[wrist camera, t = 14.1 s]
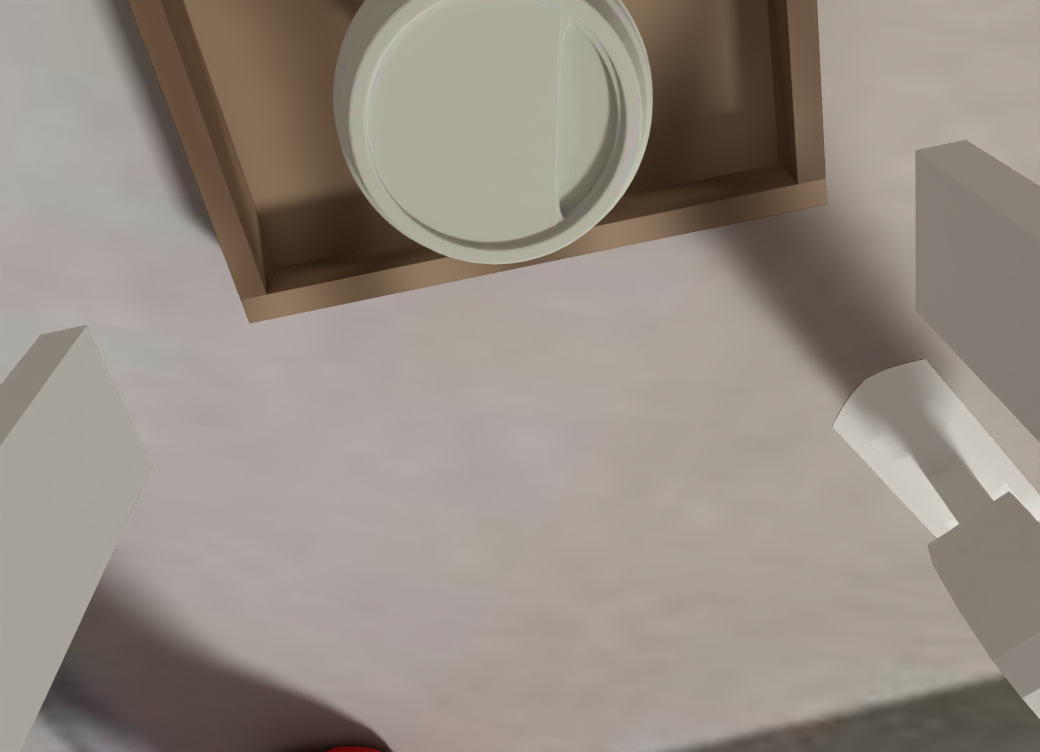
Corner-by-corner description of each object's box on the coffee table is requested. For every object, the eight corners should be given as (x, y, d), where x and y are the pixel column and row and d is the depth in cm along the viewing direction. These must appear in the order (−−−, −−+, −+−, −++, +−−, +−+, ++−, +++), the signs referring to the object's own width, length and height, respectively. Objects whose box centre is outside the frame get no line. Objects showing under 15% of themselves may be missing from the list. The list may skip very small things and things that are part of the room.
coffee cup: (520, 194, 39) (544, 336, 28) (321, 74, 36) (265, 181, 25) (651, -3, 35) (734, 73, 25) (442, -152, 33) (436, -136, 22)
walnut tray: (265, 285, 41) (249, 323, 38) (110, -147, 33) (74, -142, 30) (798, 174, 40) (826, 204, 37) (769, -301, 32) (801, -312, 29)
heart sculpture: (807, 400, 45) (992, 713, 29) (901, 330, 44) (1149, 621, 28) (980, 584, 51) (1209, 925, 35) (1068, 528, 50) (1348, 859, 34)
